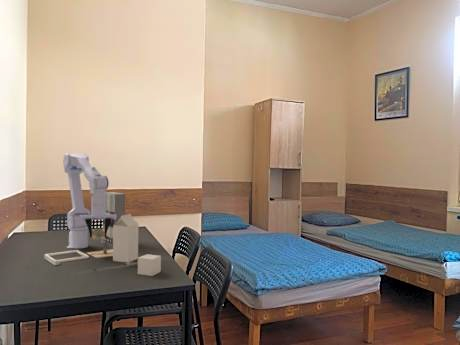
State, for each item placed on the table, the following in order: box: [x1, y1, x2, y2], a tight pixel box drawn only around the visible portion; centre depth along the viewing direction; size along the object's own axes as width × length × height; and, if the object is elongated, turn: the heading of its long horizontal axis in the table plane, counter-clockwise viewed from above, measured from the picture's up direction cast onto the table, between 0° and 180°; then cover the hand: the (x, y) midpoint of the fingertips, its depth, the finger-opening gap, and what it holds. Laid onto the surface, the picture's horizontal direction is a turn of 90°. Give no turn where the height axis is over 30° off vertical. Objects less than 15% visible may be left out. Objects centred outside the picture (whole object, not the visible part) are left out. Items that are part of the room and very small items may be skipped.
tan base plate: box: [85, 242, 113, 259], centre depth 164 cm, size 12×12×6 cm
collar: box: [91, 228, 105, 241], centre depth 161 cm, size 7×5×3 cm
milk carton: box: [112, 213, 140, 265], centre depth 154 cm, size 7×7×19 cm
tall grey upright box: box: [100, 191, 126, 246], centre depth 186 cm, size 14×6×25 cm, turn 41°
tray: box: [43, 249, 90, 266], centre depth 156 cm, size 13×13×2 cm
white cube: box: [137, 253, 162, 277], centre depth 140 cm, size 6×6×6 cm
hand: (98, 236), depth 162 cm, fingers closed on collar, 5 cm apart
